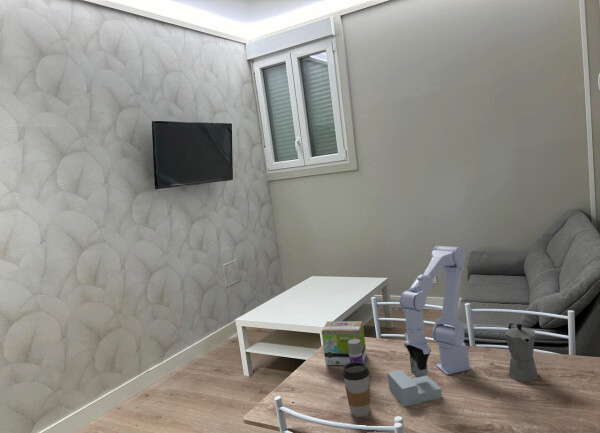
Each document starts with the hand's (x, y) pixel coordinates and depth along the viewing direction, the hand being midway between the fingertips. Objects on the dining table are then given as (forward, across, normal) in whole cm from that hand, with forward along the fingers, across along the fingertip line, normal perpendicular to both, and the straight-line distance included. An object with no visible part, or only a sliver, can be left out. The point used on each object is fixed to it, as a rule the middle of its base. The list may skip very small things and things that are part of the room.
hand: (419, 366), depth 152 cm
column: (+3, 0, 0) cm, 3 cm away
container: (+8, -15, -17) cm, 24 cm away
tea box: (+8, -33, -16) cm, 38 cm away
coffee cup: (+8, +4, -23) cm, 25 cm away
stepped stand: (+8, +1, -4) cm, 9 cm away
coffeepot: (+8, +5, +34) cm, 35 cm away
